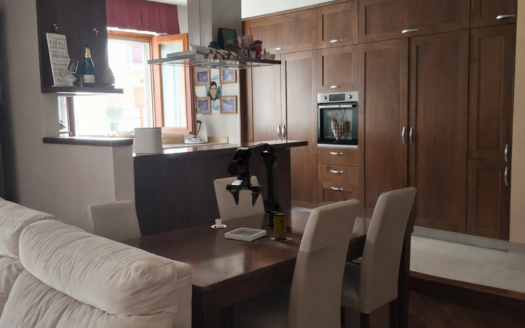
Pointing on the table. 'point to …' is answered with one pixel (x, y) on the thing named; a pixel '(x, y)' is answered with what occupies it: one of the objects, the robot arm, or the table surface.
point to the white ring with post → (218, 224)
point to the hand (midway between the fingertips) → (245, 205)
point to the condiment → (280, 227)
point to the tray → (245, 234)
